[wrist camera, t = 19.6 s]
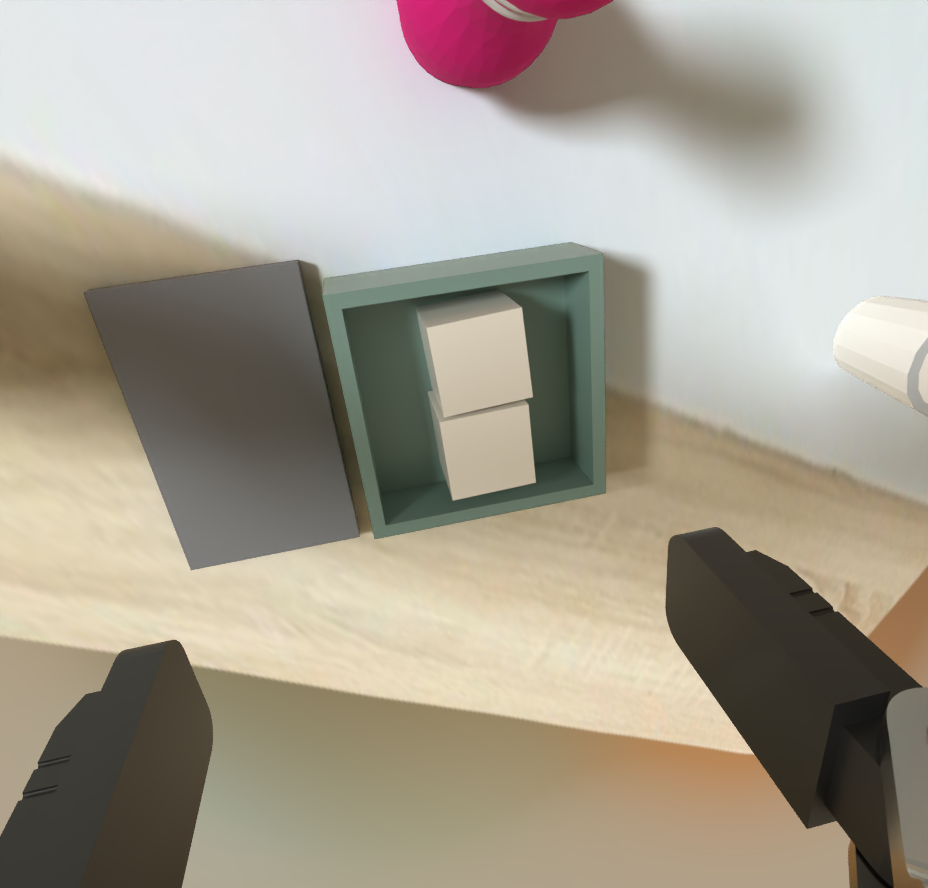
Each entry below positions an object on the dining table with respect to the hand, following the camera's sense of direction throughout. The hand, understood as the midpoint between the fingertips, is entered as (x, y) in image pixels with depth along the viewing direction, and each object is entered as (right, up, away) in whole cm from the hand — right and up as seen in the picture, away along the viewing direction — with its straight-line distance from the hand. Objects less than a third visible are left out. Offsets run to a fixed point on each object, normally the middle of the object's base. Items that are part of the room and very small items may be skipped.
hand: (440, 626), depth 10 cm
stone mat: (-13, +4, +27) cm, 30 cm away
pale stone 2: (+1, +5, +29) cm, 29 cm away
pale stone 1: (0, +9, +26) cm, 28 cm away
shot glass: (+29, +11, +33) cm, 45 cm away
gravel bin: (0, +7, +28) cm, 29 cm away
